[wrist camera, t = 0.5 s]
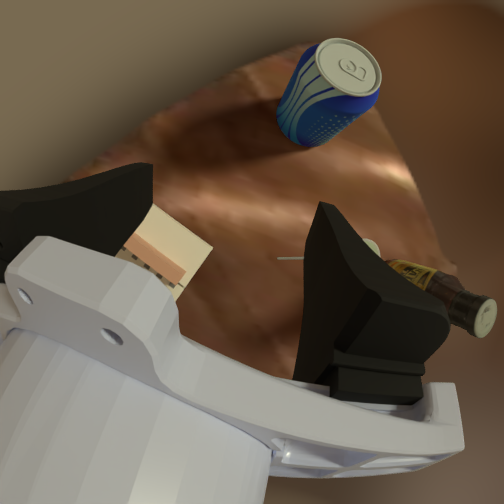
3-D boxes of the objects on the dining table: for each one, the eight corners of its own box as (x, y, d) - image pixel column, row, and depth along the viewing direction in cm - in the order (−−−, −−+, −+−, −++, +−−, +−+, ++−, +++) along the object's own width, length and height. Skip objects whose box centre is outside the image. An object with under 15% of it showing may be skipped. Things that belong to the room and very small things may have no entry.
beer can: (292, 158, 37) (336, 116, 21) (263, 106, 36) (287, 39, 20) (343, 137, 37) (404, 94, 21) (315, 88, 36) (358, 26, 20)
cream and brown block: (186, 285, 37) (181, 292, 32) (109, 226, 35) (97, 227, 31) (213, 247, 37) (211, 250, 32) (134, 189, 35) (124, 185, 31)
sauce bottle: (380, 253, 39) (482, 272, 19) (411, 264, 40) (510, 287, 20) (366, 296, 39) (460, 343, 20) (398, 305, 40) (490, 348, 20)
